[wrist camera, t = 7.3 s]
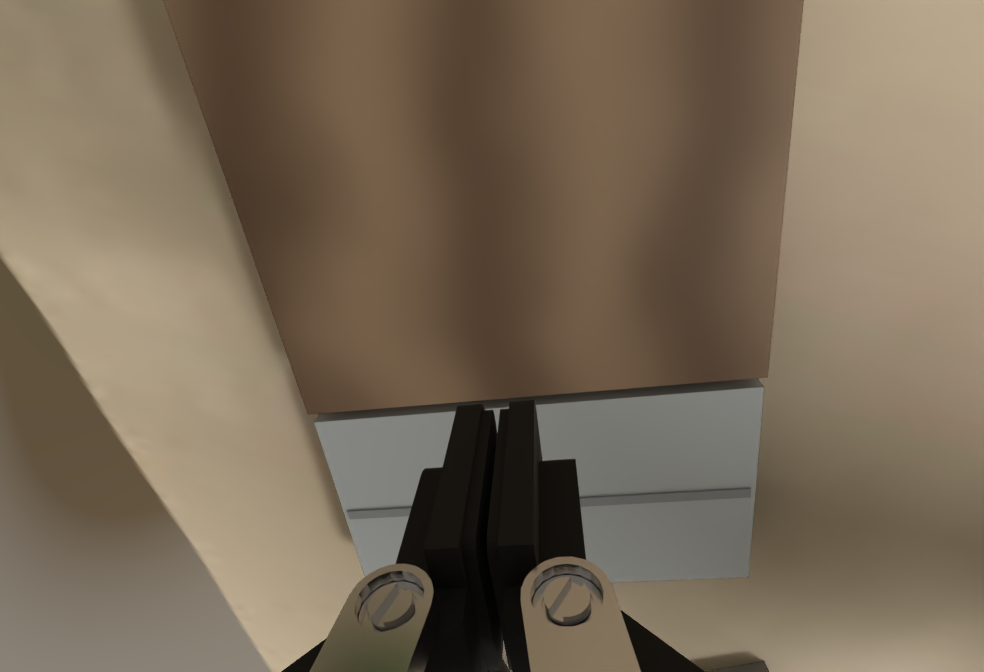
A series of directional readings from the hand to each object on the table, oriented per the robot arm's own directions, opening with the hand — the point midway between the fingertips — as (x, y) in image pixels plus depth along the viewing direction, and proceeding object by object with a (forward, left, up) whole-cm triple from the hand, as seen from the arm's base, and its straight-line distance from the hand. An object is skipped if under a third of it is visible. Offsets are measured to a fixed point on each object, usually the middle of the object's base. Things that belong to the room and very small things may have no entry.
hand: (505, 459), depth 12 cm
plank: (0, -4, -9) cm, 10 cm away
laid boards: (0, +8, -9) cm, 12 cm away
